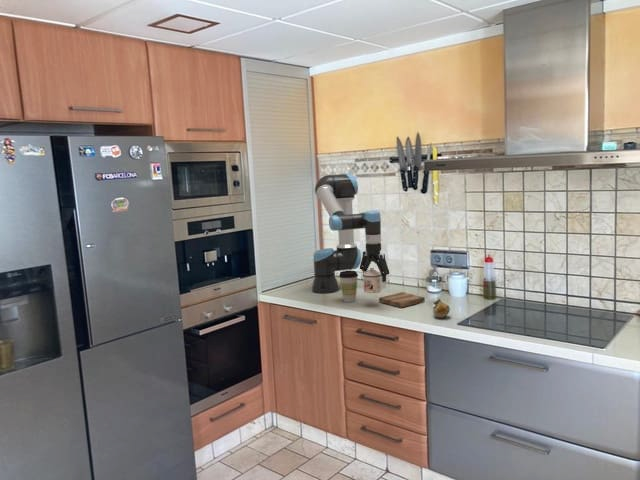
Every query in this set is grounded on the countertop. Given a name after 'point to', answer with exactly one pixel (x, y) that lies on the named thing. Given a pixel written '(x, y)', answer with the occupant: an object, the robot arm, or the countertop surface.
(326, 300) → the countertop surface
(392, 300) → the walnut board
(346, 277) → the coffee cup
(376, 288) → the teacup with lid
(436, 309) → the onion
